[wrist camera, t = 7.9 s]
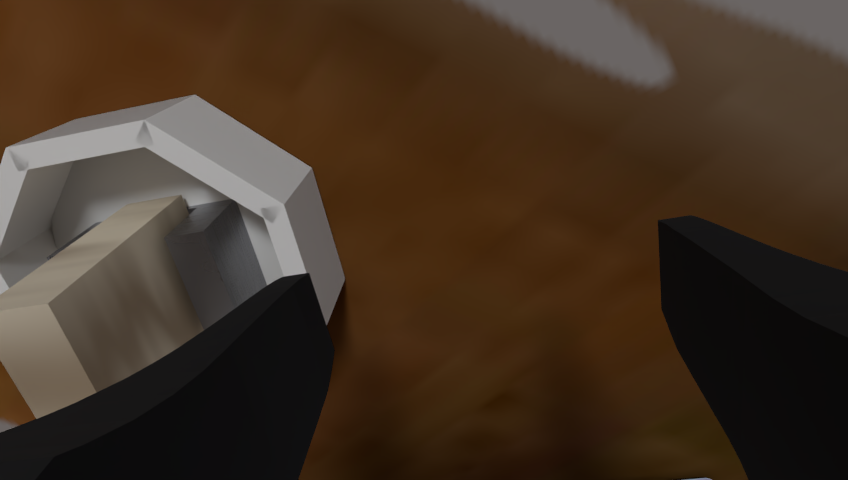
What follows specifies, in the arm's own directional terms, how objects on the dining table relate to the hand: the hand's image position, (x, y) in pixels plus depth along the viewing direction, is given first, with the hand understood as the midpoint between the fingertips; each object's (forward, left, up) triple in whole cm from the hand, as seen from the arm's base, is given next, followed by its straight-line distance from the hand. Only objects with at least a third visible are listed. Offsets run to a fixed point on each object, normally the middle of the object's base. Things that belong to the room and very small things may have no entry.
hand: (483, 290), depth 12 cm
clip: (-2, +12, -10) cm, 16 cm away
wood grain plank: (-2, +12, -9) cm, 15 cm away
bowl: (-2, +12, -10) cm, 16 cm away
